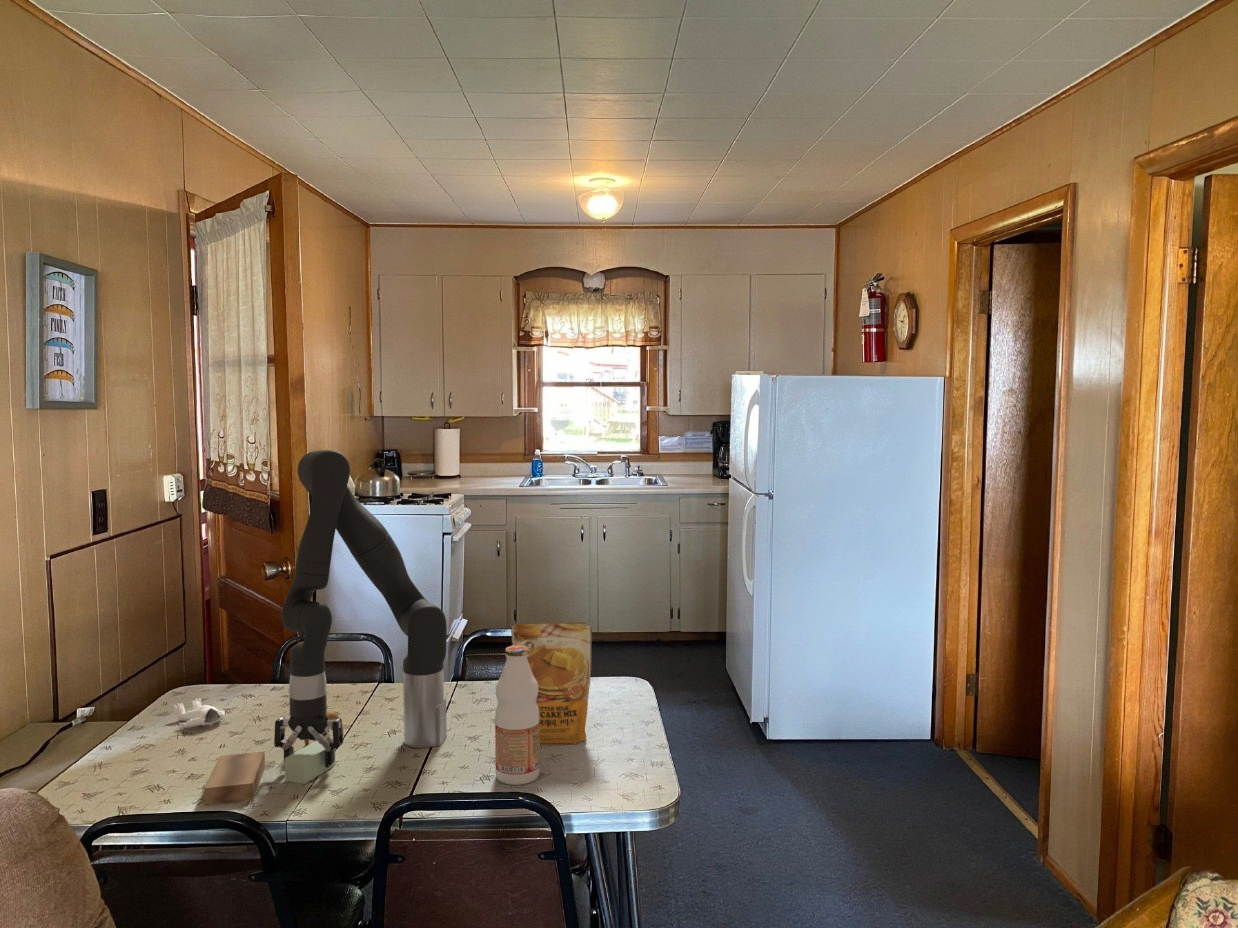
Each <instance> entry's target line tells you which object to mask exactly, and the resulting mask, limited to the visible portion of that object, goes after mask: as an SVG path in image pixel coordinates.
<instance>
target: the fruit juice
mask: <svg viewBox="0 0 1238 928" xmlns="http://www.w3.org/2000/svg"><path fill="white" fill-rule="evenodd" d="M528 653H529V651H528V647H526V646H521V645H514V646H512V645H510V646H507V647H506V648H505V650H504V654H505V658H506V660H505V664H504V667H503V670H502V674H501V676H500V677H499V679H498V680H497V682H496V685H495V697H496V699H497V705H496V708H495V715H494V718H495V719H494V727H495V728H494V731H495V733H494V735H495V736H494V738H495V741H494V743H495V745H494V746H495V747H494V749H495V750H494V751H495V755H494V757H495V759H494V760H495V776H496V779H497V780H498V781H499V782H500V783H502V784H505V785H509V786H510V785H511V786H519V785H526V784H529V783H532V782H534V781H536V780H537V779H538V777H539V776H540V772H541V771H540V767H541V766H540V763H541V762H540V759H541V758H540V756H541V755H540V754H541V753H540V751H541V750H540V749H541V748H540V739H539V720H540V718H539V708H538V705H537V702H536V700H537V696H538V691H539V688H538V683H537V680H536V679H535V677H534V676H533V673H532V671H531V668H530V666H529V663H528V660H527V656H528Z"/></svg>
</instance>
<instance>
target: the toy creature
mask: <svg viewBox="0 0 1238 928" xmlns="http://www.w3.org/2000/svg"><path fill="white" fill-rule="evenodd" d="M191 704H192V709H191V710H188V711H186V708H185V706H184V704H183V702H180V703H179V702H177V705H176V704H174V705H173V711H174V712H175V715H176V716H177V720H179V721H180V722H179V724H178V725H177V724H176V725H175V727H176V729H178V730H182V731H183V729H185V728H192V727H198V726H208V725H209V724H214V723H217V722H219V721H220V720H221V719H223V718H224V717H225V714H226V713H225V711H226V710H225V709H223V710H220V709H217V707H215V706H212V705H209V704H203V705H202V699H201V697H199V698H196V697H195V699H192V700H191Z"/></svg>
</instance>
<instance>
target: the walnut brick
mask: <svg viewBox="0 0 1238 928" xmlns="http://www.w3.org/2000/svg"><path fill="white" fill-rule="evenodd" d="M265 755H266V754H265V751H258V752H247V753H235V754H225V755H219V756H218V759H217V761H216V763H215V765H214V767H213V769H212V771H211V773H210V775H209V777H208V779H207V782H206V783H205V786H204V787H203V795H204V806H213V805H214V806H216V805H224V804H234V803H242V802H252V801H254V800H255V797H256V794H257V791H258V788H259V787H260V783H261V780H262V777H263V775H264V771H265V768H266V764H265V763H266V762H265V761H266V758H265V757H266V756H265Z"/></svg>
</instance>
